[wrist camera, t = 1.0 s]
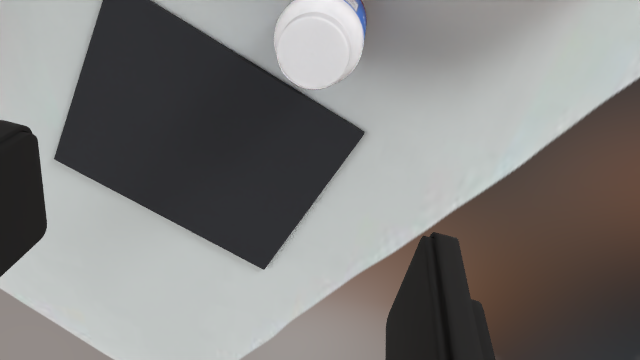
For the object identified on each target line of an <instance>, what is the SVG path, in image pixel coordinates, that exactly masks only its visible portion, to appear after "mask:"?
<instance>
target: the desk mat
mask: <svg viewBox="0 0 640 360" xmlns="http://www.w3.org/2000/svg"><path fill="white" fill-rule="evenodd" d="M363 135H364V131H362V130H361V129H359V128H357V127H356V126H354V125H353V124H351V123H349V122H348V121H346V120H344V119H343V118H341V117H339V116H338V115H336V114H335V113H333V112H331V111H330V110H328V109H326V108H325V107H323V106H322V105H320V104H318V103H317V102H315V101H313V100H312V99H310V98H308V97H307V96H305V95H304V94H302V93H300V92H299V91H297V90H295V89H294V88H292V87H291V86H289V85H287V84H286V83H284V82H282V81H281V80H279V79H277V78H276V77H274V76H273V75H271V74H269V73H268V72H266V71H264V70H263V69H261V68H260V67H258V66H256V65H255V64H253V63H251V62H250V61H248V60H246V59H245V58H243V57H242V56H240V55H238V54H237V53H235V52H233V51H232V50H230V49H229V48H227V47H225V46H224V45H222V44H220V43H219V42H217V41H215V40H214V39H212V38H211V37H209V36H207V35H206V34H204V33H202V32H201V31H199V30H198V29H196V28H194V27H193V26H191V25H189V24H188V23H186V22H184V21H183V20H181V19H180V18H178V17H176V16H175V15H173V14H171V13H170V12H168V11H167V10H165V9H163V8H162V7H160V6H158V5H157V4H155V3H153V2H152V1H150V0H103V2H102V6H101V9H100V12H99V15H98V19H97V22H96V25H95V28H94V31H93V35H92V38H91V41H90V44H89V48H88V51H87V54H86V57H85V61H84V64H83V67H82V70H81V74H80V77H79V80H78V83H77V86H76V90H75V93H74V96H73V99H72V103H71V106H70V109H69V112H68V116H67V119H66V122H65V125H64V129H63V132H62V135H61V138H60V142H59V145H58V148H57V151H56V154H55V158H54V159H55V160H57V161H59V162H61V163H62V164H64V165H66V166H68V167H70V168H72V169H74V170H76V171H78V172H80V173H81V174H83V175H85V176H87V177H89V178H91V179H93V180H95V181H97V182H98V183H100V184H102V185H104V186H106V187H108V188H110V189H112V190H114V191H116V192H117V193H119V194H121V195H123V196H125V197H127V198H129V199H131V200H133V201H135V202H136V203H138V204H140V205H142V206H144V207H146V208H148V209H150V210H152V211H153V212H155V213H157V214H159V215H161V216H163V217H165V218H167V219H169V220H171V221H172V222H174V223H176V224H178V225H180V226H182V227H184V228H186V229H188V230H190V231H191V232H193V233H195V234H197V235H199V236H201V237H203V238H205V239H207V240H208V241H210V242H212V243H214V244H216V245H218V246H220V247H222V248H224V249H226V250H227V251H229V252H231V253H233V254H235V255H237V256H239V257H241V258H243V259H245V260H246V261H248V262H250V263H252V264H254V265H256V266H258V267H260V268H262V269H263V270H264V269H265V268H266V266H267V265H268V264H269V262H270V261H271V260H272V258H273V257H274V255H275V254H276V253H277V251H278V250H279V249H280V247H281V246H282V245H283V243H284V242H285V241H286V239H287V238H288V236H289V235H290V234H291V232H292V231H293V230H294V228H295V227H296V226H297V224H298V223H299V222H300V220H301V219H302V218H303V216H304V215H305V213H306V212H307V211H308V209H309V208H310V207H311V205H312V204H313V203H314V201H315V200H316V199H317V197H318V196H319V194H320V193H321V192H322V190H323V189H324V188H325V186H326V185H327V184H328V182H329V181H330V180H331V178H332V177H333V176H334V174H335V173H336V171H337V170H338V169H339V167H340V166H341V165H342V163H343V162H344V161H345V159H346V158H347V157H348V155H349V154H350V152H351V151H352V150H353V148H354V147H355V146H356V144H357V143H358V142H359V140H360V139H361V138H362V136H363Z"/></svg>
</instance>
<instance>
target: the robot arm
mask: <svg viewBox="0 0 640 360" xmlns="http://www.w3.org/2000/svg"><path fill="white" fill-rule="evenodd" d="M46 228H47V220H46V211H45V202H44V193H43V184H42V175H41V166H40V157H39V148H38V140H37V137H36V136H35V135H33V134H32V131H31V130H30V128H28V127H27V126H23V125H20V124H16V123H12V122H8V121H4V120H0V277H1V276H2V275H3V274H4V273H5V272H6V271H7V270H8V269H9V268H10V267H12V266H13V265H14V264H15V263H16V262H17V261H18V260H19V259H20V258H21V257H22V256H23V255H24V254H25V253H27V252H28V251H29V250H30V249H31V248H32V247H33V246H34V245H35V244H36V243H37V242H38V241H39V240H40V239H41V238H42V237H43V236H44V234H45V231H46ZM386 360H495V356H494V352H493V348H492V343H491V339H490V335H489V331H488V327H487V323H486V318H485V314H484V310H483V307H482V304H481V303H480V302H479V301H476V300H472V299H471V298H470V293H469V288H468V284H467V279H466V274H465V269H464V265H463V261H462V256H461V250H460V246H459V241H458V239H457V238H454V237H451V236H447V235H443V234H439V233H435V232H433V233H432V234H431V236H430V237H426V236H423V237H422V238H421V240H420V242H419V244H418V247H417V249H416V251H415V254H414V256H413V259H412V261H411V263H410V266H409V268H408V270H407V273H406V275H405V277H404V280H403V282H402V284H401V287H400V289H399V291H398V294H397V296H396V298H395V301H394V303H393V305H392V308H391V310H390V312H389V315H388V319H387V324H386Z"/></svg>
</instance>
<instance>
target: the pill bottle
mask: <svg viewBox="0 0 640 360" xmlns="http://www.w3.org/2000/svg"><path fill="white" fill-rule="evenodd" d="M366 24H367V19H366V12H365V8H364V5H363V3H362V1H361V0H293V1H292V2H291V3H290V4H289V5H288V6H287V7H286V8H285V10H284V11H283V12H282V14H281V15H280V17H279V19H278V21H277V24H276V27H275V32H274V47H275V52H276V55H277V60H278V63H279V66H280V68H281V70H282V72H283V73H284V75H285V76H286V77H287V78H288V79H289V80H290V81H291V82H292V83H294V84H295V85H297V86H299V87H302V88H305V89H311V90H317V89H323V88H326V87H329V86H331V85H333V84H335V83H337V82H339V81H341V80H343V79H344V78H345V77H347V76H348V75H349V74H350V73H351V72H352V71H353V70H354V69H355V67H356V66H357V64H358V62H359V60H360V58H361V55H362V51H363V46H364V38H365V32H366Z"/></svg>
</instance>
